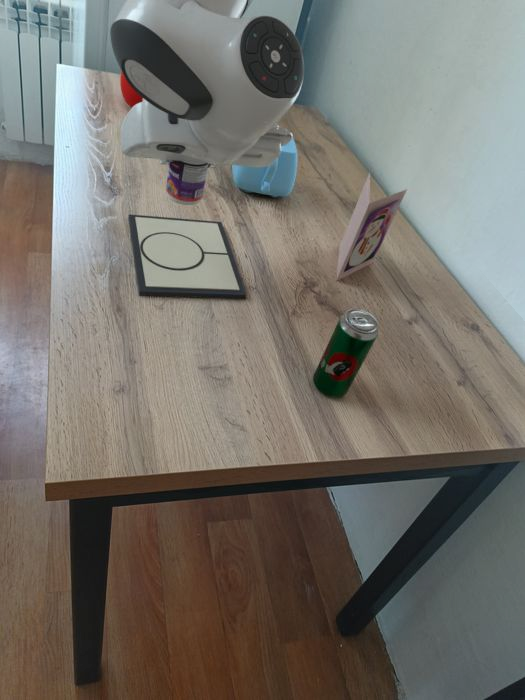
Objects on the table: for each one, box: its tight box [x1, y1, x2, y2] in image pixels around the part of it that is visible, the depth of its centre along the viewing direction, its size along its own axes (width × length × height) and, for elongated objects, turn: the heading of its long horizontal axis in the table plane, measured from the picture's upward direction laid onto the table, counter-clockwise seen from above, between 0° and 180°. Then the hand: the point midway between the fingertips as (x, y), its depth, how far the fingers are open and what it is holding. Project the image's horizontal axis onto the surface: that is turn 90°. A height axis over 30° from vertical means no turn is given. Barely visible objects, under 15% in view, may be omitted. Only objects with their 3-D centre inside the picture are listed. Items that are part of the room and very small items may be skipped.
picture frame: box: [127, 213, 248, 300], centre depth 86 cm, size 16×20×1 cm
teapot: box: [231, 137, 298, 198], centre depth 107 cm, size 12×18×12 cm
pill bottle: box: [165, 160, 209, 206], centre depth 76 cm, size 5×5×10 cm
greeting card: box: [336, 172, 408, 281], centre depth 91 cm, size 11×7×15 cm, turn 136°
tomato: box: [119, 71, 143, 108], centre depth 119 cm, size 10×11×11 cm
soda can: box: [312, 308, 379, 398], centre depth 69 cm, size 5×5×12 cm
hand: (188, 161), depth 76 cm, fingers closed on pill bottle, 5 cm apart
